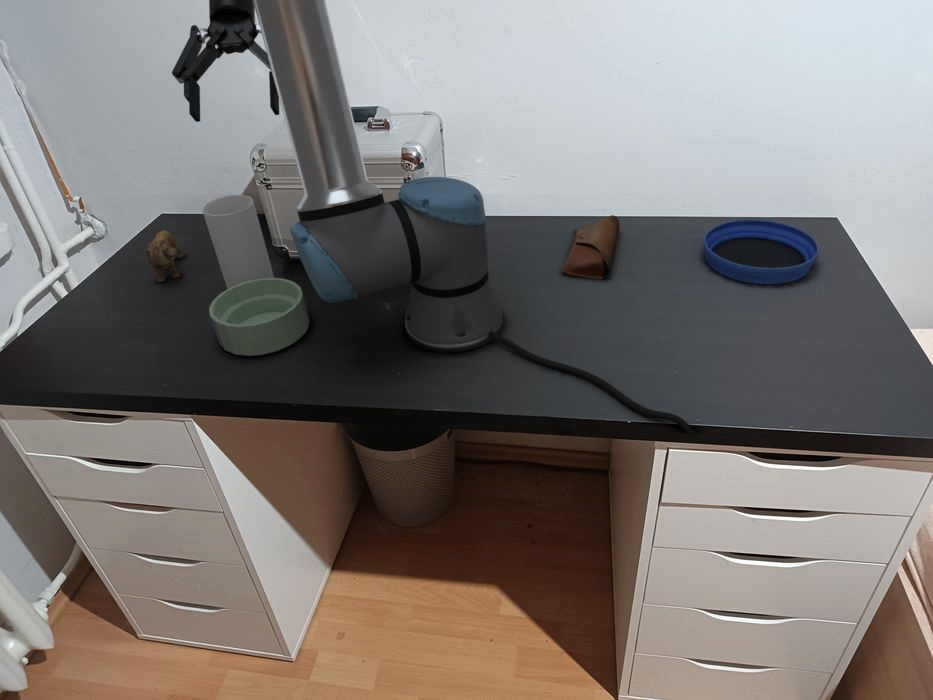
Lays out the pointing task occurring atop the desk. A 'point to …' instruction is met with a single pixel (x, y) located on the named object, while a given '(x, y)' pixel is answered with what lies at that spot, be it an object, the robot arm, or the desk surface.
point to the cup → (237, 239)
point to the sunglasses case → (593, 250)
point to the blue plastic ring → (760, 251)
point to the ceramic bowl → (259, 316)
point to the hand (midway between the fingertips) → (234, 114)
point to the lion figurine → (163, 253)
